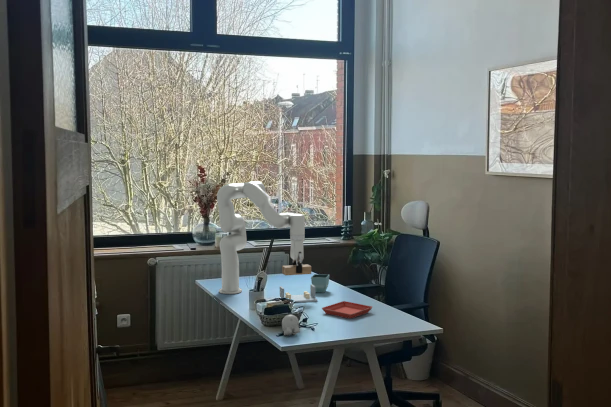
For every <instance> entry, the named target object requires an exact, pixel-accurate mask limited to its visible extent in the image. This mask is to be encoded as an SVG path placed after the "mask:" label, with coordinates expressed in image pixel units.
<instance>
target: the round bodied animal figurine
mask: <svg viewBox="0 0 611 407" xmlns="http://www.w3.org/2000/svg"><path fill="white" fill-rule="evenodd" d="M299 323H300V322H299V318H298V317H297V316H296V315H294V314H287V315H285V316H284V317H283V318H282V320H281V327H282V328H281V329H282V331H283V335H284V336H290V335H292V336H294V335H297V334H299V333H300V332H301V330H300V327H299V326H300V325H299Z"/></svg>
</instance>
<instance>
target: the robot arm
mask: <svg viewBox="0 0 611 407" xmlns="http://www.w3.org/2000/svg"><path fill="white" fill-rule="evenodd" d="M235 199H248V200H249V201H250V202H252V203H253V204H254V205H255V206H256V207H257V208H258V209H259V210H260V213H261V215H262V216H263V218H264V219H265V220H266V221H267V222H268V223H269V224H270V225H271V226H272V227H273V228H276V229H284V228H289V229H290V230H289V235H290V236H289V237H290V239H289V241H290V255H289V256H290V258H291V259H292V265H297V266H296V273H302V265H303V260H304V255H305V254H304V241H305V234H306V233H305V232H306V231H305V228H306V227H305V226H306V225H305V222H306V221H305V219H306V218H305V215H304V214H303V213H292V212H283V213H282V212H281V213H279V212H278V211H277V210H276V209H275V208H274V207H273V206H272V204H271V203H272V197H271V196H270V195H269V194H268V193H267V192H266V186H265V185H264V184H263V182H261V181H259V180H255V181H253V180H252V181H249V182H236V183H227V184H225V185H222V186H220V188H219V189H218V191H217V194H216V202H217V207H218V217H219V225H220V229H221V231H222V232H223V233H230V234H227V235H224V236H222V238H221V239H220V241H219V250H220V257H221V259H220V260H221V262H220V263H221V288H220V289H218V292H219V293H220V294H224V295H225V294H226V295H234V294H240V293H242V291H243V289H242V288H240V262H239V261H240V259H239V255H238V252H237V251H241V250H243V249H244V248H245V247H246V246H247V239H248V238H247V231H246V222H245V220H244V219H245V218H243V216H241V215H240V214H238V213H236V212H235V206H234V203H233V202H232V200H235Z"/></svg>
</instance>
